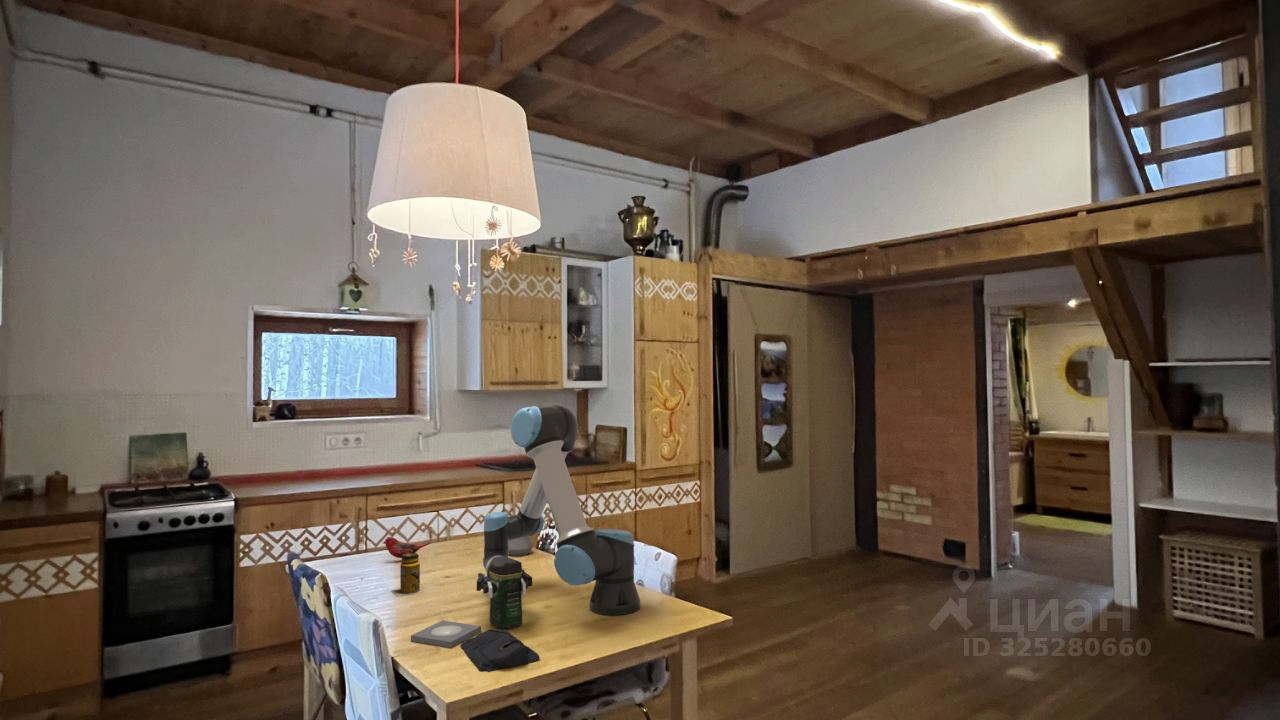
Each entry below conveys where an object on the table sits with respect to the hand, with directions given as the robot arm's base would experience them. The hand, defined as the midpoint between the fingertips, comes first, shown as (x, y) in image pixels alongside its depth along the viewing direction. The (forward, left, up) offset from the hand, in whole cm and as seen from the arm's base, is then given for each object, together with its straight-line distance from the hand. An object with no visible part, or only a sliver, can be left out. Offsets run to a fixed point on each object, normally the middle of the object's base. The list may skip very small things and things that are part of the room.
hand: (507, 591), depth 201 cm
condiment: (+51, -19, -11) cm, 55 cm away
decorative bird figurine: (+78, -50, -11) cm, 93 cm away
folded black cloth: (-7, +15, -11) cm, 20 cm away
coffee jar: (+3, -4, -11) cm, 12 cm away
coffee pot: (+41, -74, -11) cm, 85 cm away
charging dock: (+13, +10, -11) cm, 19 cm away
